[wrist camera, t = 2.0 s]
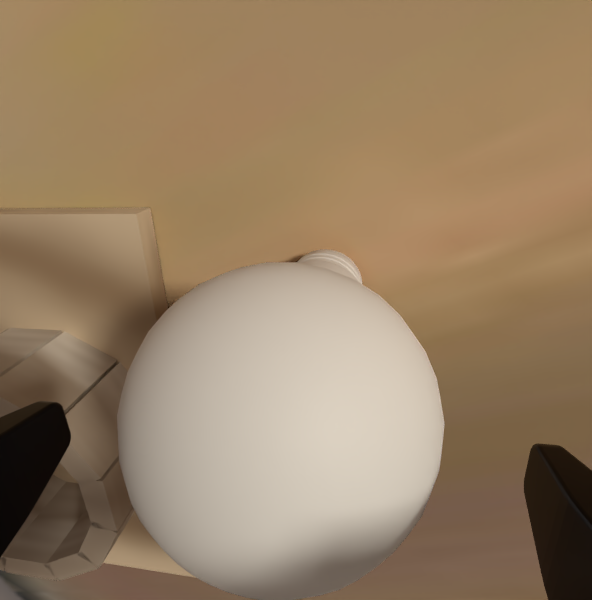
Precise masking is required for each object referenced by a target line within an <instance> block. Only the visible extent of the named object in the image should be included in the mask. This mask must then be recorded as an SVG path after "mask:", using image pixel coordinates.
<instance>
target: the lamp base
mask: <svg viewBox="0 0 592 600" xmlns="http://www.w3.org/2000/svg"><path fill="white" fill-rule="evenodd" d="M167 309H168V305H167V300H166V294H165V288H164V283H163V277H162V271H161V266H160V260H159V254H158V249H157V243H156V237H155V232H154V226H153V220H152V215H151V209H150V208H27V209H0V417H2V416H4V415H6V414H9V413H11V412H14V411H16V410H18V409H21V408H23V407H25V406H28V405H30V404H33V403H35V402H38V401H52V402H58V403H60V404H61V405H62V407H63V409H64V412H65V415H66V419H67V422H68V425H69V428H70V432H71V441H70V444H69V447H68V448H67V450H66V452H65V454H64V456H63V457H62V459H61V461H60V463H59V464H58V466H57V468H56V470H55V471H54V473H53V475H52V477H51V478H50V480H49V482H48V484H47V485H46V487H45V489H44V491H43V493H42V494H41V496H40V498H39V500H38V501H37V503H36V505H35V506H34V508H33V510H32V511H31V513H30V515H29V516H28V518H27V519H26V521H25V522H24V524H23V525H22V527H21V528H20V530H19V531H18V533H17V534H16V536H15V537H14V539H13V540H12V542H11V543H10V544H9V546H8V547H7V549H6V550H5V552H4V553H3V555H2V556H1V558H0V570H2V571H4V570H6V572H7V573H13V574H19V575H25V576H31V577H37V578H42V579H48V580H54V581H57V580H59V581H61V580H64V579H67V578H70V577H73V576H76V575H80V574H83V573H86V572H89V571H92V570H95V569H98V568H99V567H101V565H102V563H108V564H115V565H121V566H127V567H133V568H140V569H146V570H152V571H158V572H165V573H171V574H177V575H184V576H190V577H195V576H193V575H191V574H190V573H189V572H187V571H186V570H185V569H183V568H182V567H181V566H179V565H178V564H177V563H176V562H175V561H174V560H173V559H172V558H171V557H170V556H169V555H168V554H167V553H166V552H164V550H163V549H162V548H161V547H160V546H159V545H158V543H157V542H156V541H155V540H154V539H153V538H152V536H151V535H150V534H149V532H148V531H147V530H146V528H145V527H144V526H143V524H142V523H141V522H140V520H139V518H138V516H137V514H136V512H135V510H134V508H133V506H132V504H131V501H130V498H129V495H128V491H127V488H126V484H125V481H124V477H123V474H122V470H121V467H120V463H119V450H118V428H117V414H118V409H119V403H120V398H121V393H122V390H123V386H124V383H125V379H126V376H127V372H128V370H129V368H130V366H131V364H132V362H133V360H134V358H135V355H136V353H137V351H138V349H139V348H140V346H141V344H142V342H143V340H144V338H145V337H146V335H147V333H148V331H149V330H150V329H151V328H152V327H153V325H154V324H155V323H156V322H157V321H158V320H159V318H160V317H161V316H162V315H163V314H164V313H165V311H166V310H167ZM196 578H197V577H196Z"/></svg>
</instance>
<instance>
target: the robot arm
mask: <svg viewBox="0 0 592 600" xmlns="http://www.w3.org/2000/svg"><path fill="white" fill-rule="evenodd" d="M70 441H71V432H70V428H69V425H68V422H67V419H66V415H65V412H64V409H63V407H62V405H61V404H60V403H58V402H52V401H38V402H35V403H33V404H30V405H28V406H25V407H23V408H21V409H18V410H16V411H14V412H11V413H9V414H6V415H4V416H2V417H0V558H1V556H2V555H3V553H4V552H5V550H6V549H7V547H8V546H9V544H10V543H11V542H12V540H13V539H14V537H15V536H16V534H17V533H18V531H19V530H20V528H21V527H22V525H23V524H24V522H25V521H26V519H27V518H28V516H29V515H30V513H31V511H32V510H33V508H34V506H35V505H36V503H37V501H38V500H39V498H40V496H41V494H42V493H43V491H44V489H45V487H46V485H47V484H48V482H49V480H50V478H51V477H52V475H53V473H54V471H55V470H56V468H57V466H58V464H59V463H60V461H61V459H62V457H63V456H64V454H65V452H66V450H67V448H68V447H69V444H70ZM524 494H525V499H526V503H527V508H528V513H529V517H530V522H531V527H532V532H533V536H534V541H535V546H536V550H537V555H538V560H539V564H540V569H541V574H542V578H543V582H544V586H545V590H546V593H547V597H548V600H592V470H590V469H589V468H588V467H587V466H585V465H584V464H583V463H582V462H580V461H579V460H578V459H577V458H575V457H574V456H573V455H572V454H570V453H569V452H568V451H567V450H565V449H564V448H563V447H561V446H558V445H549V444H535V445H533V446H532V448H531V451H530V455H529V460H528V464H527V469H526V473H525V478H524Z"/></svg>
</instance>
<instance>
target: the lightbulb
mask: <svg viewBox="0 0 592 600" xmlns="http://www.w3.org/2000/svg"><path fill="white" fill-rule="evenodd" d="M117 428H118V450H119V463H120V467H121V470H122V474H123V477H124V481H125V484H126V488H127V491H128V495H129V498H130V501H131V504H132V506H133V508H134V510H135V512H136V514H137V516H138V518H139V520H140V522H141V523H142V524H143V526H144V527H145V528H146V530H147V531H148V532H149V534H150V535H151V536H152V538H153V539H154V540H155V541H156V542H157V543H158V545H159V546H160V547H161V548H162V549H163V550H164V552H166V553H167V554H168V555H169V556H170V557H171V558H172V559H173V560H174V561H175V562H176V563H177V564H178V565H179V566H181V567H182V568H183V569H185V570H186V571H187V572H189V573H190V574H191V575H193V576H195V577H197V578H198V579H200V580H202V581H204V582H205V583H207V584H209V585H211V586H214V587H216V588H218V589H221V590H223V591H226V592H228V593H232V594H236V595H239V596H243V597H246V598H253V599H259V600H294V599H302V598H308V597H314V596H320V595H323V594H327V593H330V592H333V591H337V590H340V589H342V588H344V587H346V586H348V585H349V584H351V583H353V582H355V581H357V580H359V579H360V578H362V577H363V576H364V575H366V574H367V573H369V572H370V571H372V570H373V569H374V568H376V567H377V566H378V565H379V564H381V563H382V562H383V561H384V560H385V559H387V558H388V557H389V556H390V555H391V554H393V552H394V551H395V550H396V549H397V548H398V547H399V545H400V544H401V543H402V542H403V541H404V540H405V538H406V537H407V536H408V535H409V533H410V532H411V531H412V529H413V528H414V526H415V525H416V524H417V522H418V521H419V519H420V518H421V517H422V515H423V512H424V510H425V507H426V504H427V502H428V499H429V497H430V494H431V491H432V489H433V486H434V483H435V481H436V478H437V475H438V473H439V468H440V460H441V453H442V443H443V432H444V418H443V412H442V406H441V400H440V394H439V389H438V383H437V378H436V376H435V373H434V371H433V368H432V366H431V364H430V361H429V359H428V356H427V354H426V352H425V350H424V349H423V347H422V346H421V344H420V343H419V341H418V340H417V338H416V337H415V335H414V334H413V333H412V331H411V330H410V328H409V327H408V326H407V324H406V323H405V321H404V320H403V319H402V317H401V316H400V314H399V313H398V312H396V311H395V310H394V309H393V308H392V307H391V306H390V305H389V304H388V303H387V302H386V301H385V300H384V299H383V298H382V297H380V296H379V295H378V294H377V293H375V292H373V291H372V290H370V289H369V288H367V287H365V286H364V285H362V278H361V274H360V272H359V270H358V268H357V266H356V265H355V263H354V262H353V261H352V260H351V259H350V258H349V257H347V256H346V255H344V254H342V253H340V252H337V251H334V250H329V249H320V250H315V251H312V252H310V253H307V254H306V255H304V256H303V257H302V258H301V259H300V260H299V261H297V262H266V263H261V264H256V265H251V266H246V267H241V268H238V269H235V270H232V271H229V272H227V273H224V274H222V275H219V276H217V277H215V278H212V279H210V280H208V281H205V282H203V283H201V284H199V285H198V286H196V287H195V288H193V289H192V290H191V291H189V292H188V293H186V294H185V295H184V296H182V297H181V298H180V299H178V300H177V301H176V302H175V303H174V304H173V305H172V306H171V307H170V308H169V309H167V310H166V311H165V313H164V314H163V315H162V316H161V317H160V318H159V320H158V321H157V322H156V323H155V324H154V325H153V327H152V328H151V329H150V330H149V331H148V333H147V335H146V337H145V338H144V340H143V342H142V344H141V346H140V348H139V349H138V351H137V353H136V355H135V358H134V360H133V362H132V364H131V366H130V368H129V370H128V372H127V376H126V379H125V383H124V386H123V390H122V393H121V398H120V403H119V409H118V414H117Z"/></svg>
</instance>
